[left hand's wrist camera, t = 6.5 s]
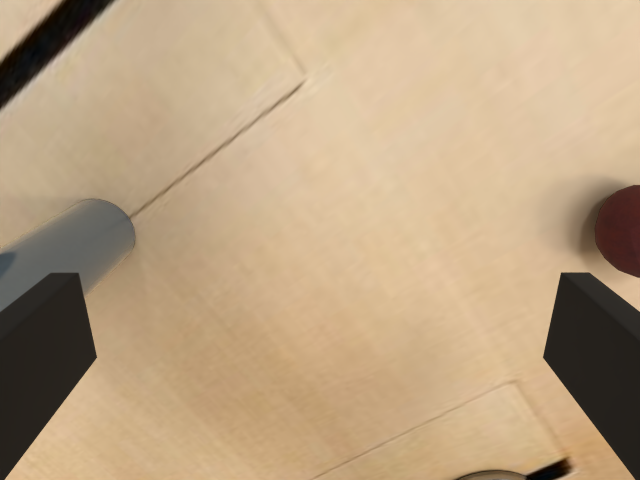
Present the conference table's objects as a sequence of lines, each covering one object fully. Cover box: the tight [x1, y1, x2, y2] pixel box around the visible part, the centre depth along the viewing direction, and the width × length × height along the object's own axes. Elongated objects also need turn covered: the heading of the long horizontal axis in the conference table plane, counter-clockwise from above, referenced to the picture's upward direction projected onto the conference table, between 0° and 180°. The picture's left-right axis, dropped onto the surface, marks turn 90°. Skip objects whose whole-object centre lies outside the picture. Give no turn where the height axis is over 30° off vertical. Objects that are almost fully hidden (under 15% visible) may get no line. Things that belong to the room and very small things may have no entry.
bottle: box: [0, 199, 135, 312], centre depth 30 cm, size 6×6×25 cm
